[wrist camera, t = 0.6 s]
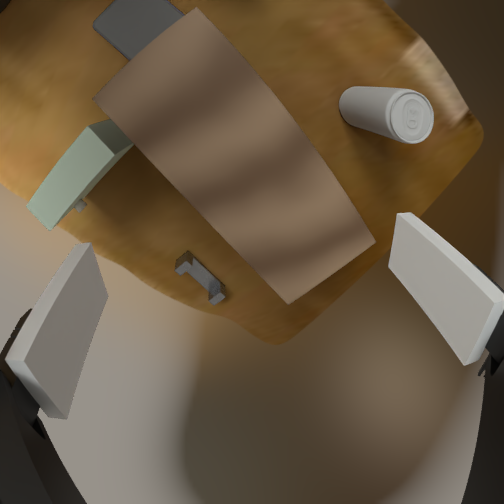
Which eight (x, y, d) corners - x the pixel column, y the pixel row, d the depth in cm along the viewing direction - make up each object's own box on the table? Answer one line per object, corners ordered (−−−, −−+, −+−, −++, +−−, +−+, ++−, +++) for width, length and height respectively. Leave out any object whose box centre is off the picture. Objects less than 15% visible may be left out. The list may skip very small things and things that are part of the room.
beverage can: (374, 88, 31) (436, 93, 21) (373, 127, 34) (433, 147, 23) (336, 84, 31) (390, 85, 20) (336, 125, 33) (388, 143, 23)
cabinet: (139, 95, 29) (91, 99, 17) (204, 40, 27) (196, 6, 15) (264, 234, 39) (288, 305, 27) (324, 189, 37) (375, 242, 25)
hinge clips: (176, 260, 39) (174, 270, 37) (238, 210, 37) (239, 218, 35) (213, 294, 42) (213, 305, 40) (273, 250, 40) (277, 259, 38)
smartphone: (138, -23, 22) (232, 58, 28) (140, -20, 23) (231, 59, 29) (88, 25, 24) (178, 106, 30) (92, 26, 25) (179, 106, 31)
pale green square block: (66, 176, 32) (25, 206, 24) (121, 115, 30) (87, 125, 21) (90, 201, 34) (56, 238, 26) (147, 143, 32) (122, 163, 23)
